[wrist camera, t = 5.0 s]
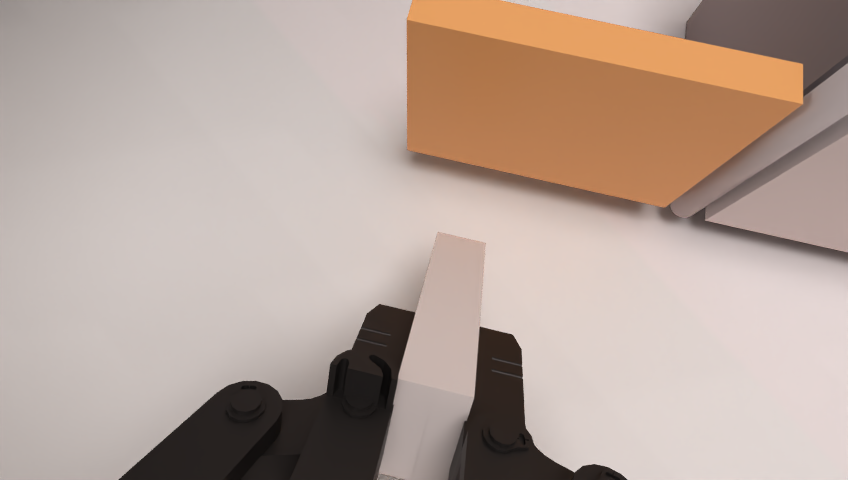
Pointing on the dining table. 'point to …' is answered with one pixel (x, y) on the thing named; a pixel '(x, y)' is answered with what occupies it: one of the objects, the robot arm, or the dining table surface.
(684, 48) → the side door
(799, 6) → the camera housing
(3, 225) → the dining table surface
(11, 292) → the dining table surface
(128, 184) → the dining table surface
